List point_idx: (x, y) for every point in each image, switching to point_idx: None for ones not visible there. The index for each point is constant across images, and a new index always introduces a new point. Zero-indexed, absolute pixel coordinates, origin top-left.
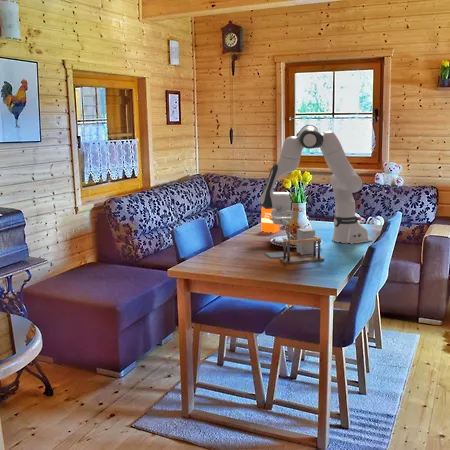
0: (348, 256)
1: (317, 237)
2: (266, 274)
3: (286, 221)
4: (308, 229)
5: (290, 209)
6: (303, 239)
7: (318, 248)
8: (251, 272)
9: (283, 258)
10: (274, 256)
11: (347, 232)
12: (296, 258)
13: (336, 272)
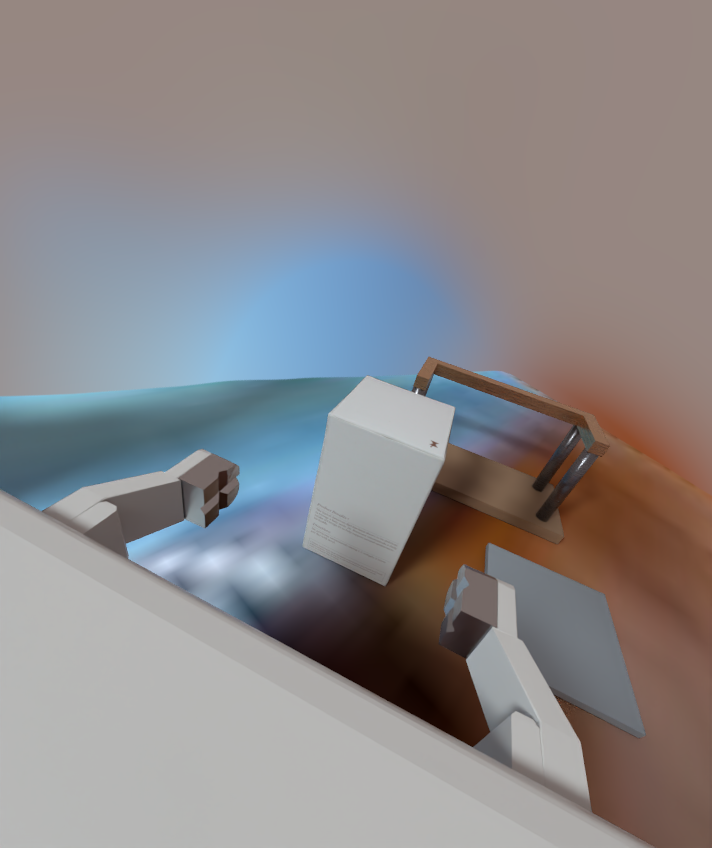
0: (273, 398)
1: (429, 365)
2: (641, 479)
3: (511, 587)
4: (390, 398)
5: None
6: (508, 388)
7: None
8: (701, 521)
9: (548, 520)
10: (579, 594)
11: None
12: (490, 482)
13: (440, 384)
